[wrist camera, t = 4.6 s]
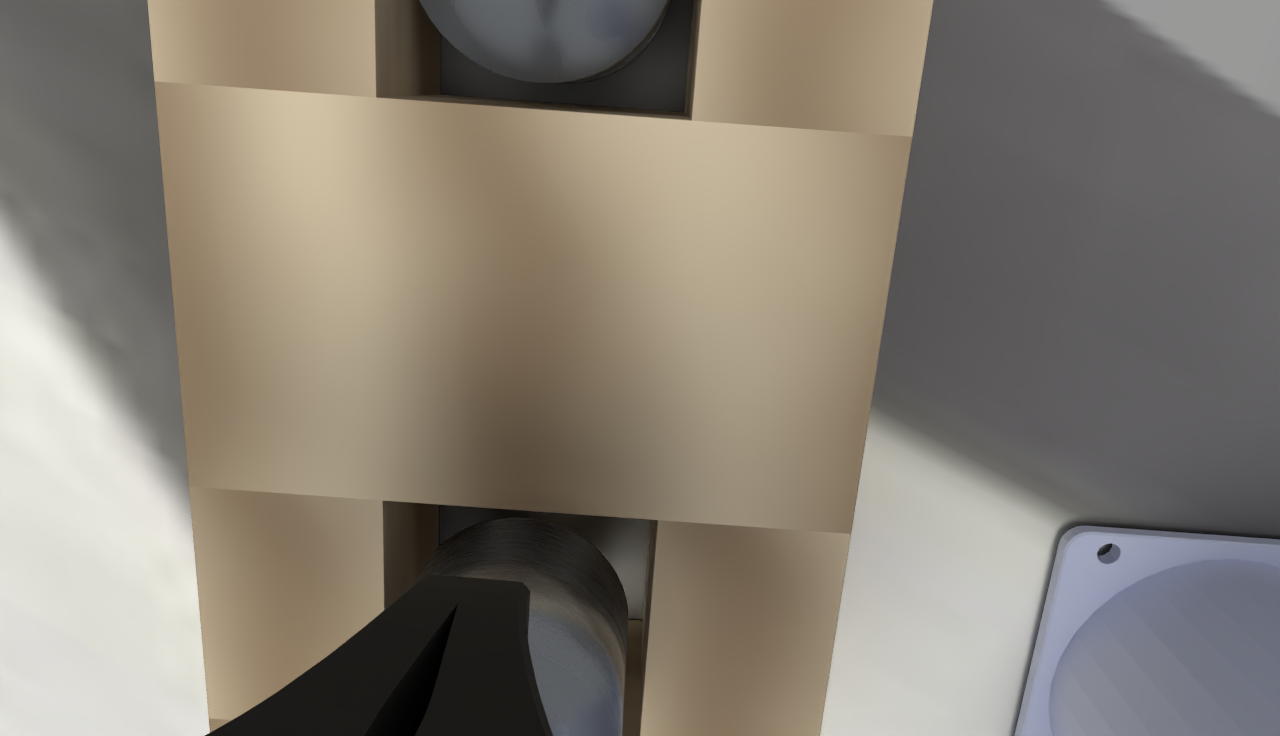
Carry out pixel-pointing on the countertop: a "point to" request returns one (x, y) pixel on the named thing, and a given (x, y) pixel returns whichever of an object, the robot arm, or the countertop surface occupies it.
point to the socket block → (532, 328)
